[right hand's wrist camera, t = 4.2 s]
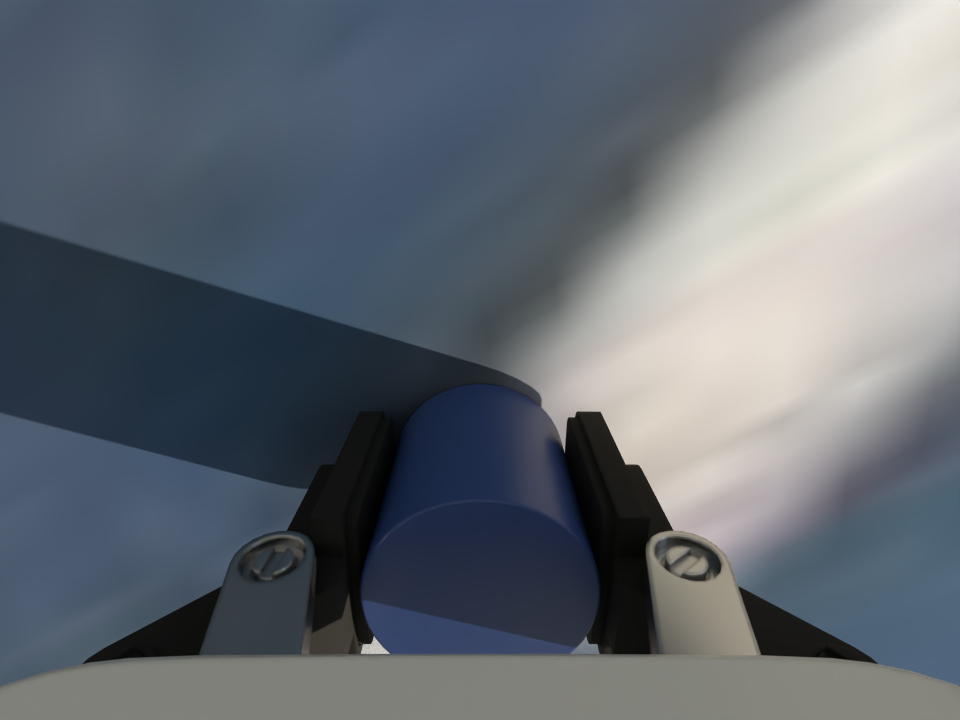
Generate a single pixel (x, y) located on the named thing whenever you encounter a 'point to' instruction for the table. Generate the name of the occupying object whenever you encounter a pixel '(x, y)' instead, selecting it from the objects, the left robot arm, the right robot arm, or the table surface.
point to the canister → (480, 534)
